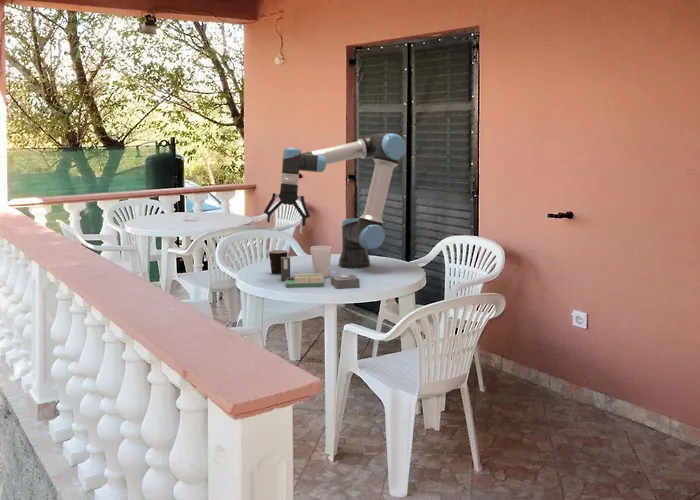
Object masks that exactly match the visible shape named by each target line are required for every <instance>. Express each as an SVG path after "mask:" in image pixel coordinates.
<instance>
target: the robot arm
mask: <svg viewBox="0 0 700 500" xmlns="http://www.w3.org/2000/svg"><path fill="white" fill-rule="evenodd" d="M406 151H407V146H406V141H405V140H404V138H403V137H402V136H400V135H399V134H397V133H391V132H390V133H381V132H380V133H375V134H372V135H368V136H365V137H361V138H358V139H357V140H356V141H354V142H352V141H351V142H347V143H345V144H343V143H342V144H338V145H334V146H330V147H325V148H322V149H321V148H320V149H316V150H310V151H306V152H302V150H301V149H300V148H294V147H285V148H284V150H283V154H282V166H281V167H282V168H281V177H280V178H281V179H280V181H281V184H280V190H279V191H280V192H279V193H276V192H274V193H272V196H271V199H270V201H269V202H268V204H267V205H266V206H265V207H266V208H265V209H264V211H263V213H264V214H265V215H267V221H266V222H267V223H269V226H268V231H272V230H273V220H274V214H273V213H274V212H275V211H277V209H278V208H279V207H280V206H281V205H288V206H292V205H293V206H294V208H295V209H296V210H297V212H298V214H299V215H300V216H301V217H302V218H300V221H299V222H300V224H299V234H303V227H305V226H306V220H307V219H308V218H310V217H311V214H310V211H309V209H308V206H307V204H306V201H305V195H298V189H299V188H298V187H299V185H298V183H299V175H300V171H301V172H302V171H303V172H304V171H305V172H310V173H311V172H314V173H323V172H324V171H325V170H326V167H327V165H331V164H335V163H340V162H345V161H349V160H352V159H353V160H355V159H358V158H360V159H367V158H368V159H369V158H371V159H372V158H373V161H374V164H375V165H374V168H373V173H372V177H371V182H370V186H369V190H368V194H367V198H366V202H365V206H364V211H363V214H362V215H361V216H359V217H358V218H344V219H343V220H342V224H341V232H342V233H341V234H342V235H341V238H342V241H341V242H342V244H341V246H342V250H341V253H340V257H339V260H338V266H339V267H341V268H344V269H364V268H368V267H371V260H370V256H369V253H368V250H374V249H378V248H379V247H380V246H381V245H382V244H383V243H384V241H385V237H386V233H385V230H384V229H383V228H384V221H383V219H382V217H383V213H384V208H385V205H386V201H387V196H388V192H389V188H390V184H391V179H392V176H393V172H394V168H396V167H398V166H399V161H400V159H402V157H404V156H405V153H406ZM277 198H279V199H280V200H279V201H278V202H277V203H276V204H275V205H274V202H275V200H276V199H277ZM297 200H299V201H300V203H301V205H302V208H303V209H301V207H300V206H299V204H298V202H297ZM272 205H274V207H272ZM271 207H272V208H271ZM272 214H273V215H272Z"/></svg>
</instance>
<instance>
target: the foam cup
mask: <svg viewBox="0 0 700 500" xmlns="http://www.w3.org/2000/svg"><path fill="white" fill-rule="evenodd" d="M332 252H333V249H332V246H330V245H329V246H328V245H314V246H311V247H310V254H311V260H312V269H313V274H323V277H324V278H326V277H329V275H330V267H331V257H332Z"/></svg>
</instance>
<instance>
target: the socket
mask: <svg viewBox="0 0 700 500" xmlns="http://www.w3.org/2000/svg"><path fill="white" fill-rule="evenodd" d="M294 276H295V277H294V279H295V283H324V284H325V281H324V279H325V277H323V274H314V273H296V274H294Z"/></svg>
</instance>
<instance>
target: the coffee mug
mask: <svg viewBox="0 0 700 500" xmlns="http://www.w3.org/2000/svg"><path fill="white" fill-rule="evenodd" d="M268 256H269V257H268V258H269V264H270V270H271V274H272V275H281V257H288V250H284V249H274V250H273V249H272V250H269V251H268Z"/></svg>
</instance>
